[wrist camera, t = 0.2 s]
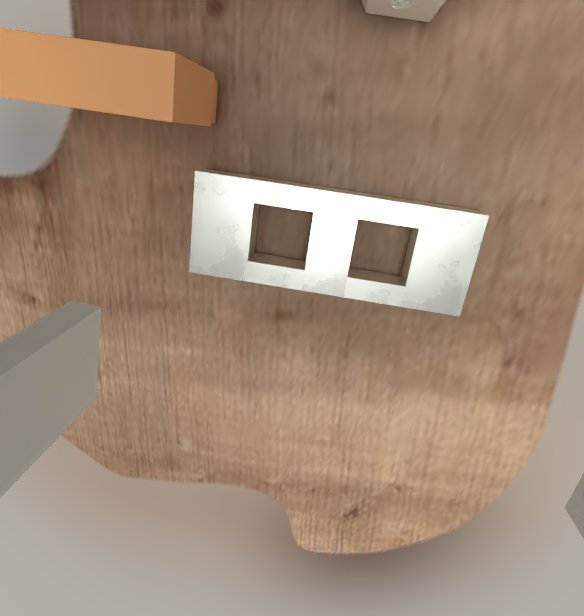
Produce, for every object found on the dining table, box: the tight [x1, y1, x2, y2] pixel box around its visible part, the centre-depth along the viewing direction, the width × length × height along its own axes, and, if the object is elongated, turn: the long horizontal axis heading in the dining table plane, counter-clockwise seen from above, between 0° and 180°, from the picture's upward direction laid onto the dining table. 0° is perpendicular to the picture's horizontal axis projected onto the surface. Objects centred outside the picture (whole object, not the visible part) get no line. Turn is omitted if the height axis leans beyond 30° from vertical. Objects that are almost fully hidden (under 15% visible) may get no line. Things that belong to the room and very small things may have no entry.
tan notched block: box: [0, 28, 218, 127], centre depth 30 cm, size 4×12×11 cm, turn 82°
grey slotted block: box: [189, 169, 489, 316], centre depth 36 cm, size 8×22×3 cm, turn 82°
